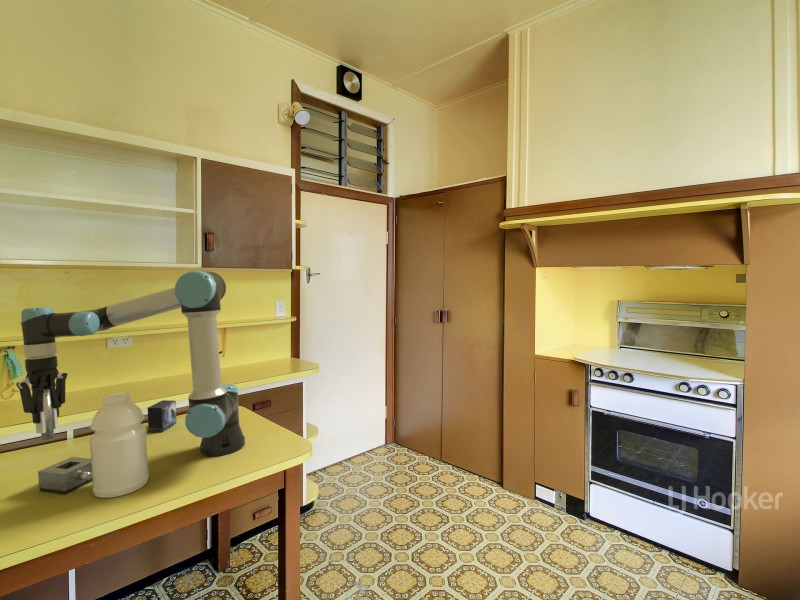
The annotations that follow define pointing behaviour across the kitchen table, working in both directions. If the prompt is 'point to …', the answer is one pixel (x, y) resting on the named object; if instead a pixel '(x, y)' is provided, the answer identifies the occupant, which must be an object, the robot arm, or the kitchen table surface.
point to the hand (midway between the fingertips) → (47, 430)
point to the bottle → (118, 447)
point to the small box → (161, 416)
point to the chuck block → (65, 475)
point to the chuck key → (47, 412)
